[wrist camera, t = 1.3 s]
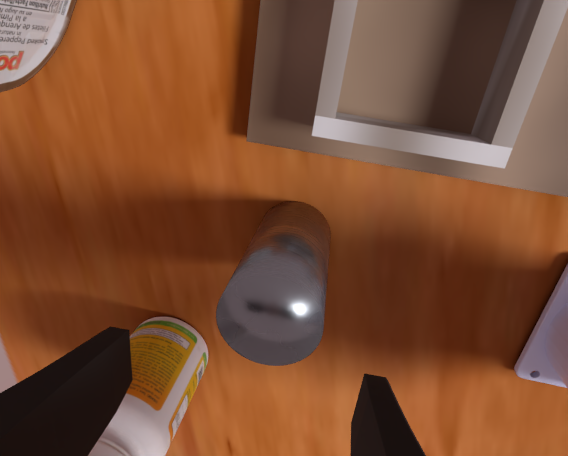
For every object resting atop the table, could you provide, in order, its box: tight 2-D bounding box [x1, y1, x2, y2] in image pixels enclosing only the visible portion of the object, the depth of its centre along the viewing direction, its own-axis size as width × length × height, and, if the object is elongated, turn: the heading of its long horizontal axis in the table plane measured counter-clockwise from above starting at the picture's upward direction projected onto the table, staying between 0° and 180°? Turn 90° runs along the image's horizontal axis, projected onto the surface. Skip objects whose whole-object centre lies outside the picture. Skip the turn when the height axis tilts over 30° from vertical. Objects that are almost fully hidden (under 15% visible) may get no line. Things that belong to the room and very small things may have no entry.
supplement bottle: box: [88, 317, 208, 456], centre depth 21 cm, size 5×5×10 cm
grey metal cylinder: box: [216, 201, 331, 366], centre depth 17 cm, size 4×4×8 cm
